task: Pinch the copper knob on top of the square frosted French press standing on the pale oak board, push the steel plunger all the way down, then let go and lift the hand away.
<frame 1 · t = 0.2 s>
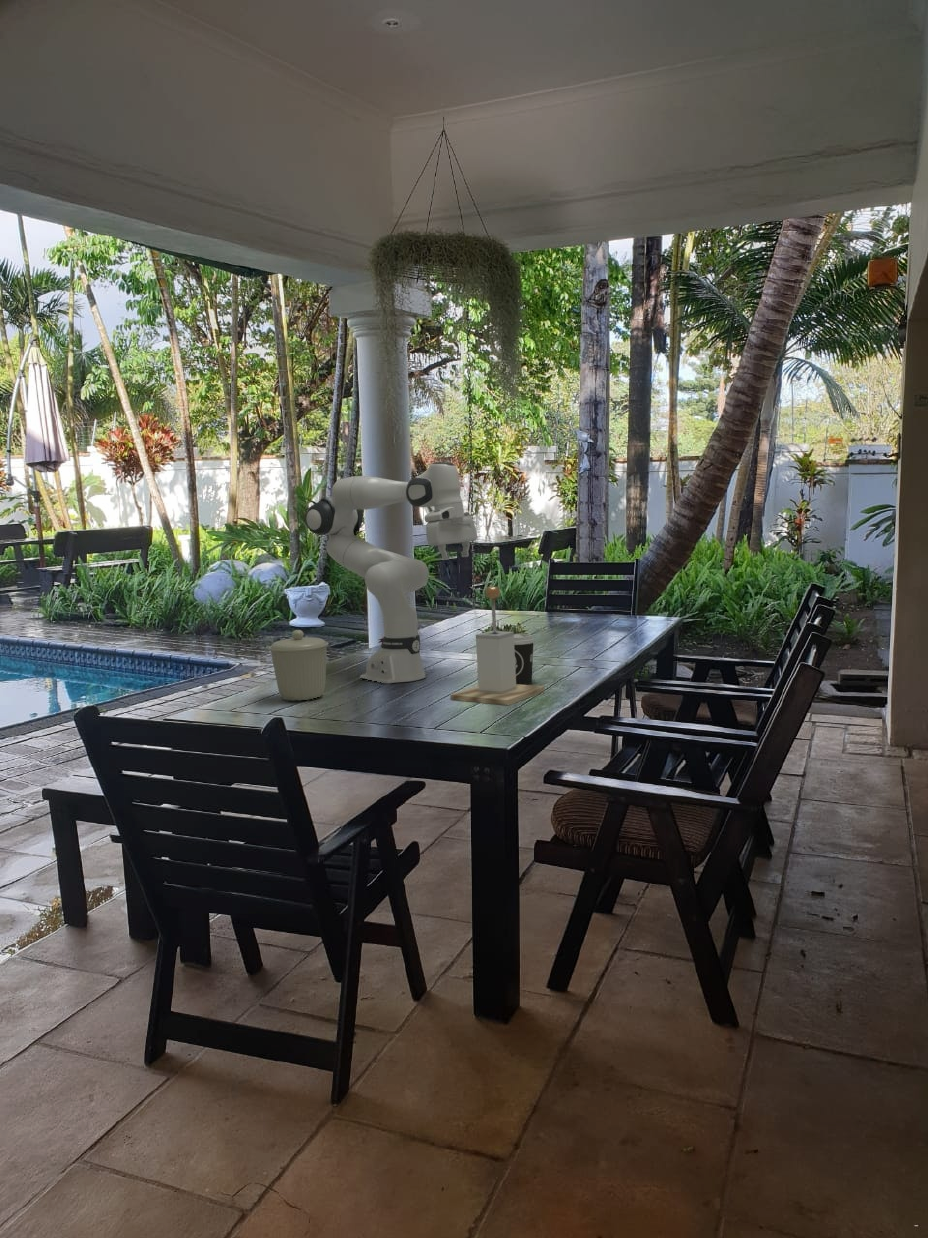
hand: (455, 558, 303), 40 cm above the table, tool pointing down, fingers open, 8 cm apart
plunger: (494, 622, 285), point 22 cm above the table, slide at 0.0 cm
press: (497, 690, 288), resting on board
coffee cup: (521, 683, 304), on the table
canister: (302, 698, 300), on the table
board: (497, 695, 288), on the table
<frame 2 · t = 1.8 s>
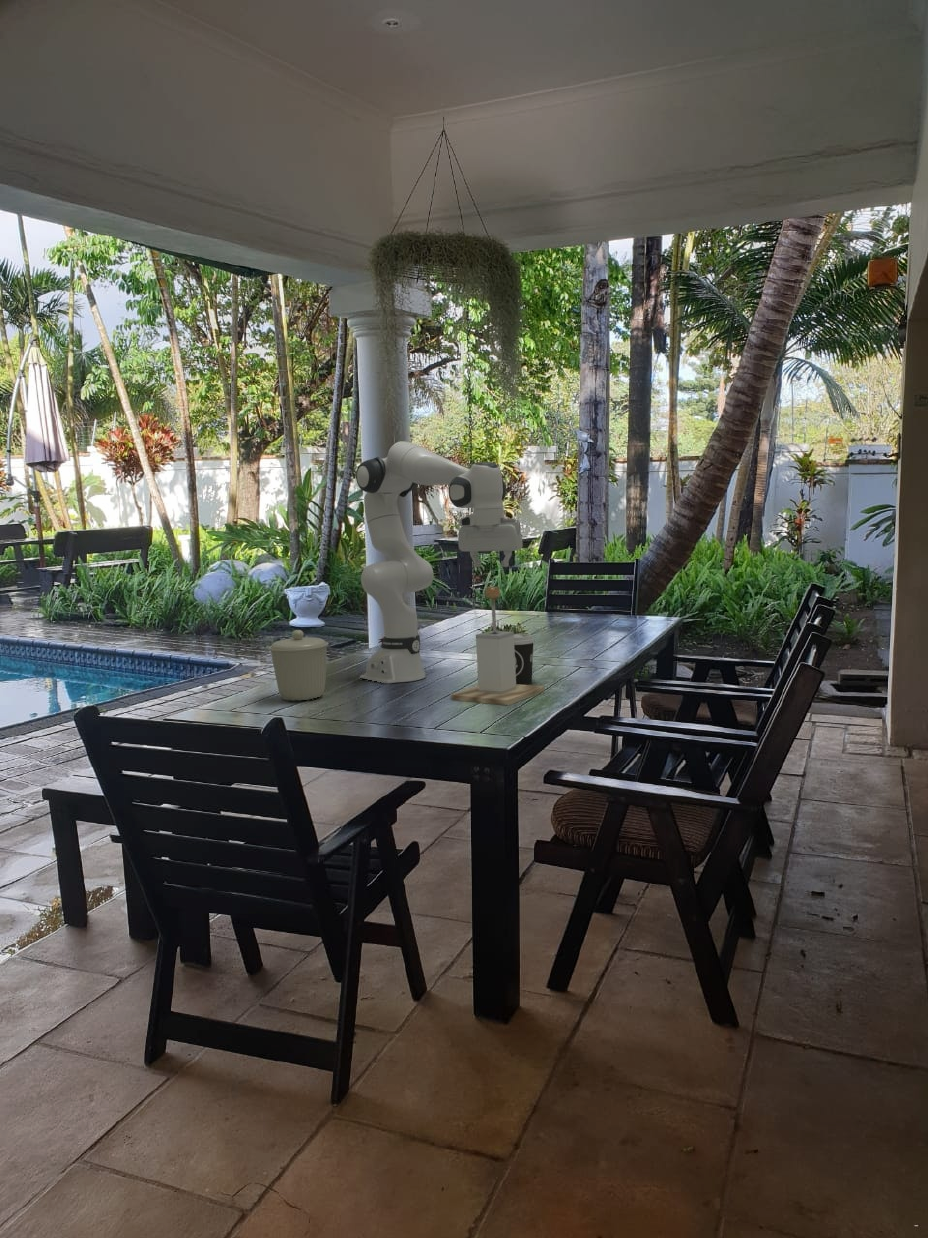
hand: (491, 566, 283), 38 cm above the table, tool pointing down, fingers open, 8 cm apart
nothing on the table moved.
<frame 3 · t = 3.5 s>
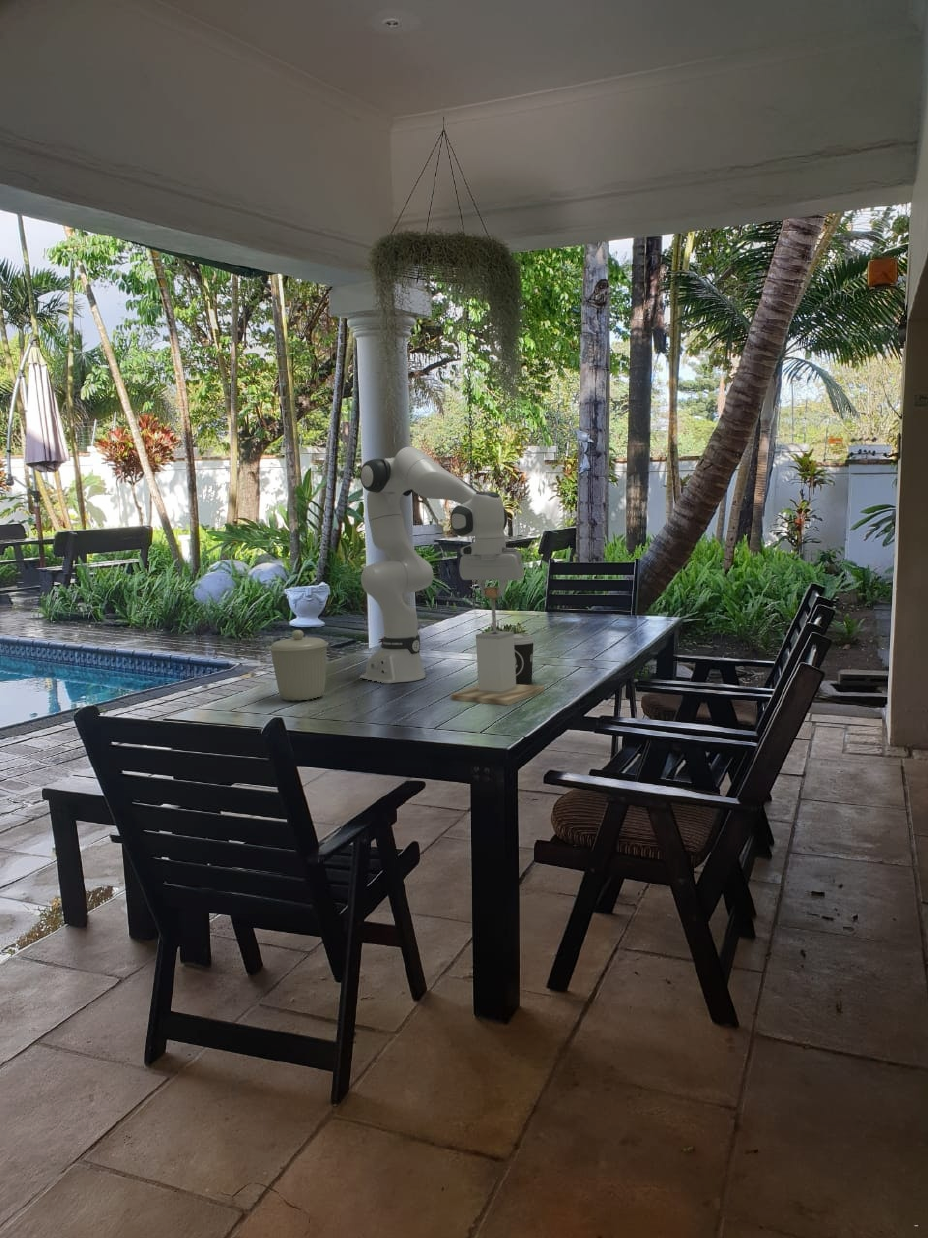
hand: (492, 595, 284), 30 cm above the table, tool pointing down, fingers closed on plunger, 4 cm apart
plunger: (494, 622, 285), point 22 cm above the table, slide at 0.0 cm, touching gripper
everything else where it was.
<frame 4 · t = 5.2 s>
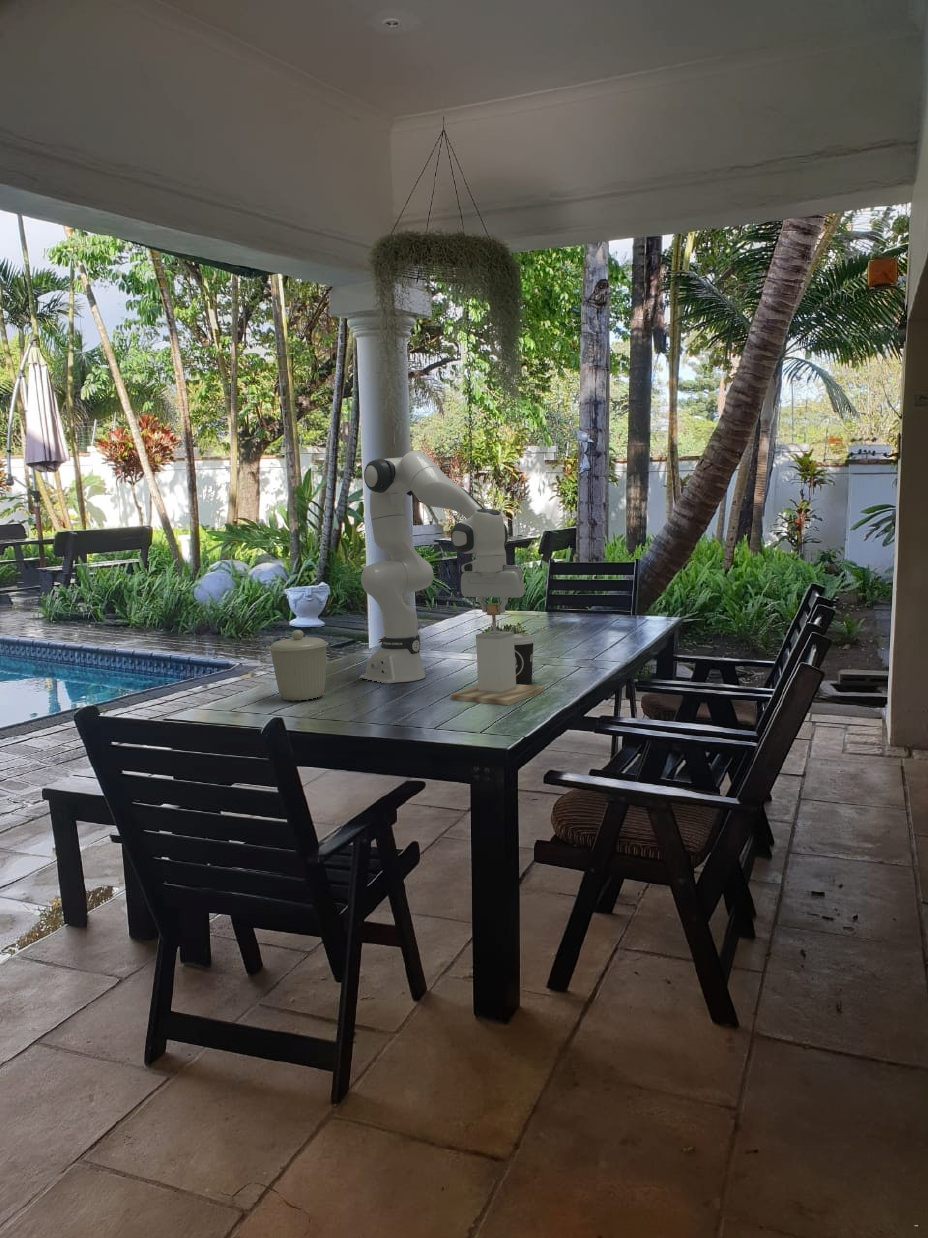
hand: (493, 612, 285), 25 cm above the table, tool pointing down, fingers closed on plunger, 4 cm apart
plunger: (495, 639, 286), point 17 cm above the table, slide at 5.0 cm, touching gripper
everything else where it was.
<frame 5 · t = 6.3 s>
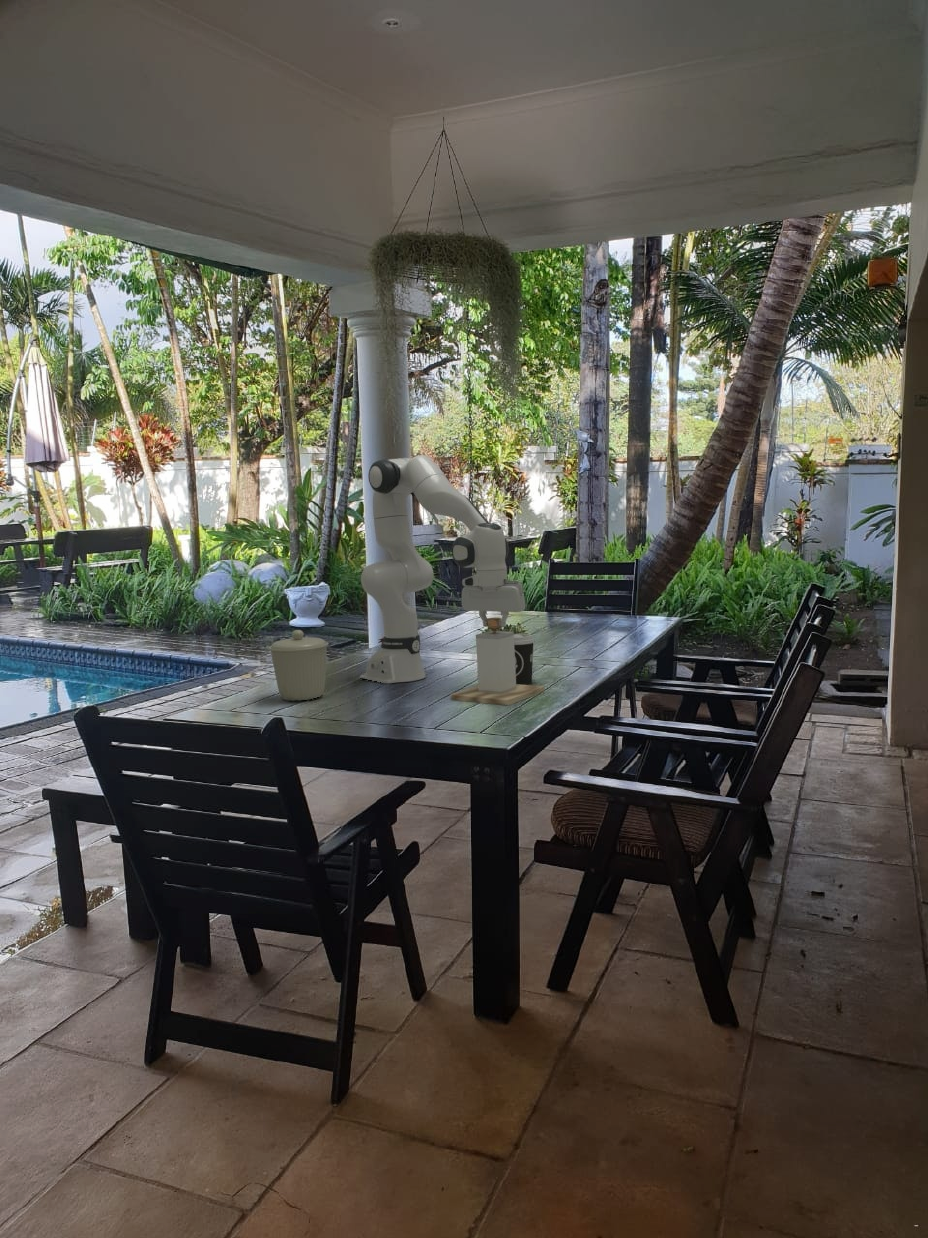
hand: (494, 626, 285), 20 cm above the table, tool pointing down, fingers closed on plunger, 4 cm apart
plunger: (495, 653, 286), point 13 cm above the table, slide at 9.1 cm, touching gripper
everything else where it was.
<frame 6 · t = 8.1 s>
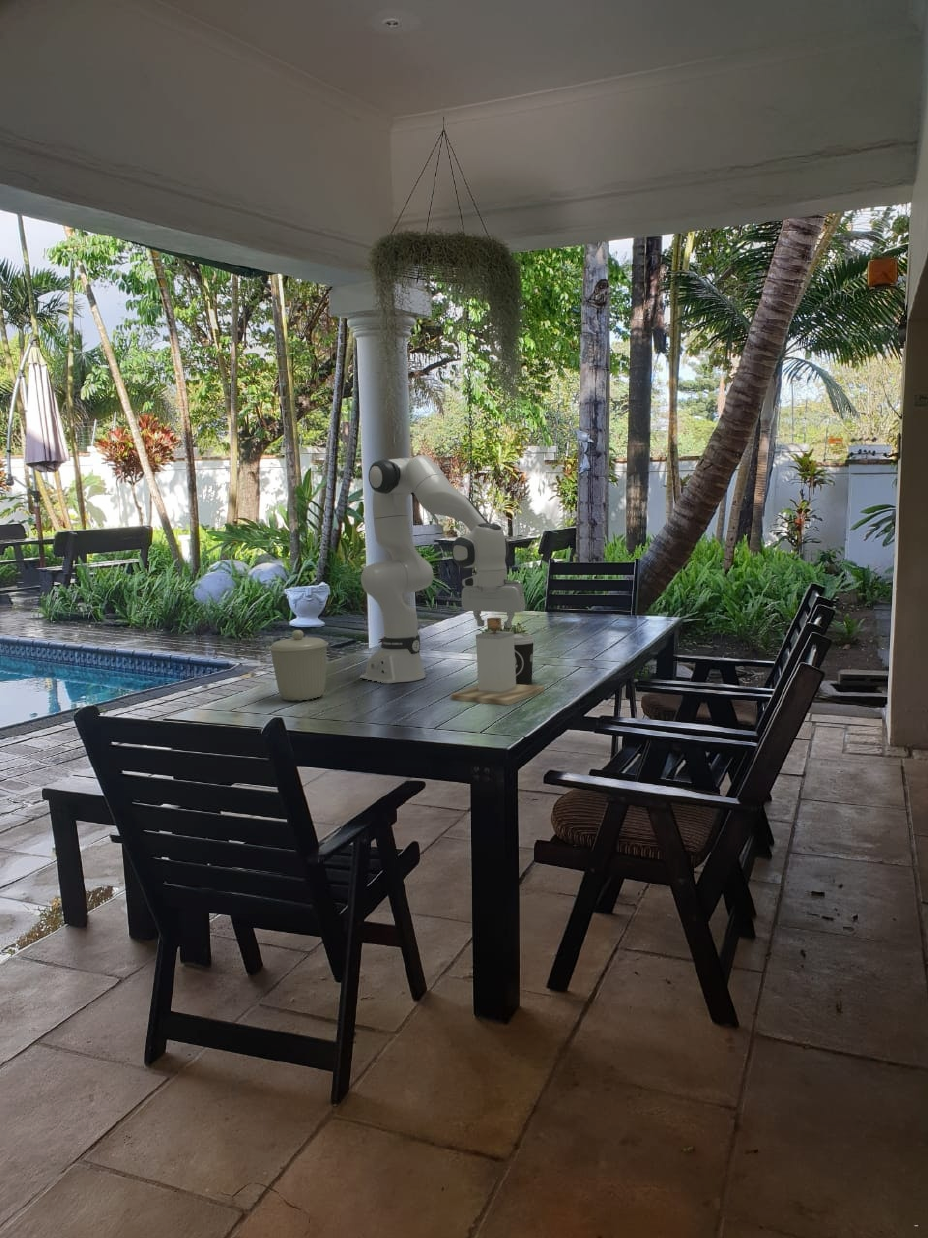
hand: (494, 626, 285), 20 cm above the table, tool pointing down, fingers open, 8 cm apart
plunger: (495, 653, 286), point 13 cm above the table, slide at 9.1 cm
everything else where it was.
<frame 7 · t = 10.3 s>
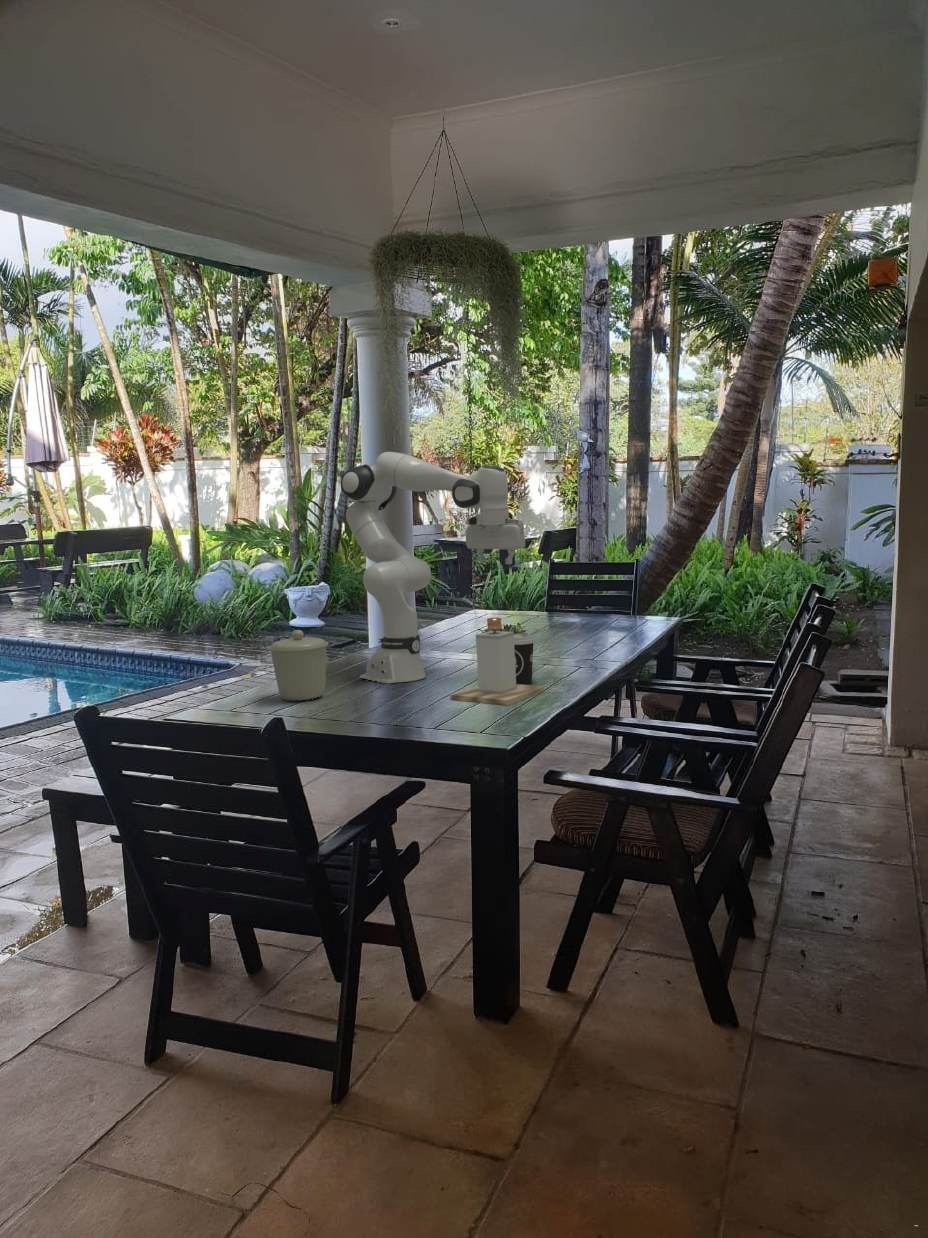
hand: (496, 563, 303), 37 cm above the table, tool pointing down, fingers open, 8 cm apart
nothing on the table moved.
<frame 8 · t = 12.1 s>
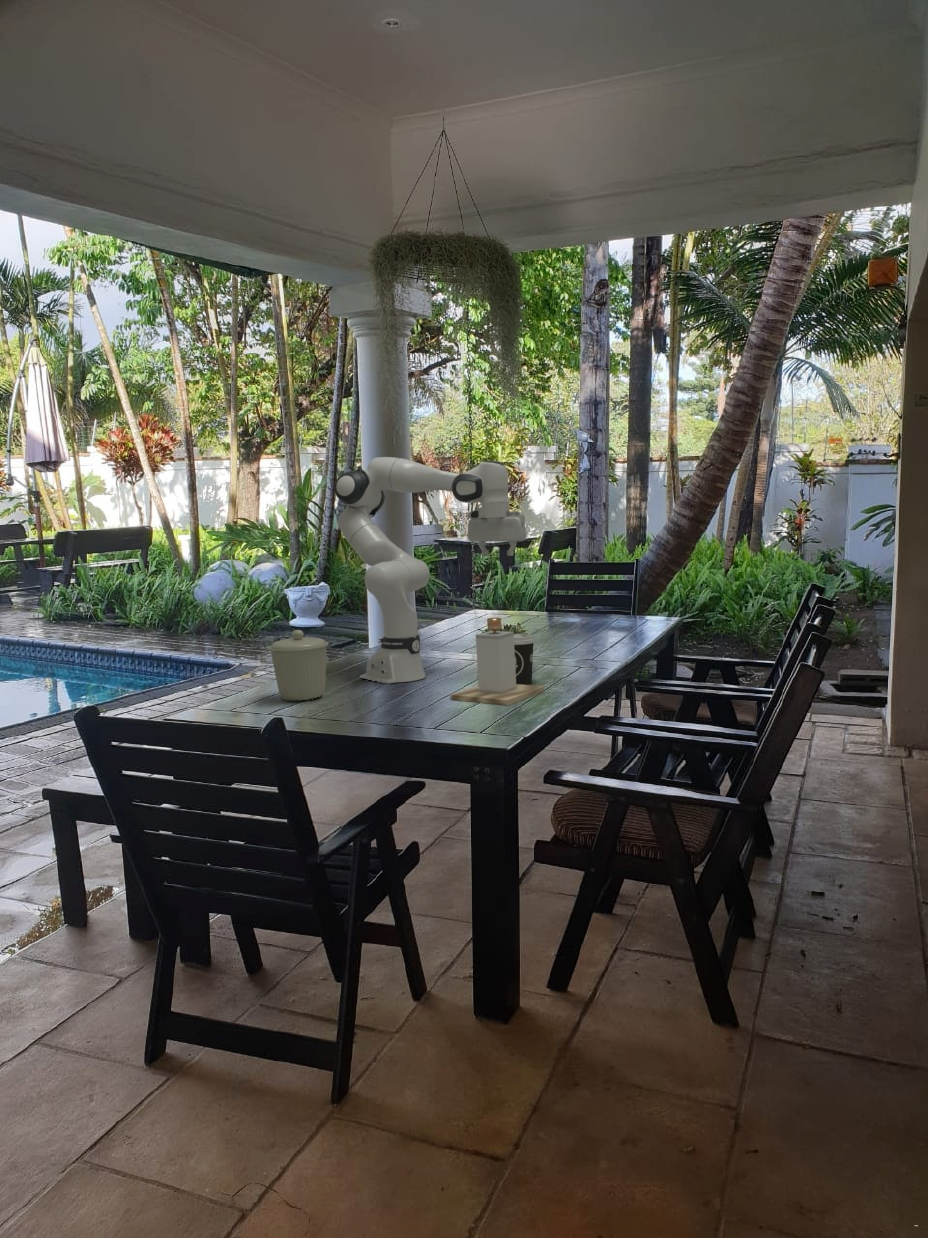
hand: (497, 555, 311), 39 cm above the table, tool pointing down, fingers open, 8 cm apart
nothing on the table moved.
at the end: plunger slide at 9.1 cm; the gripper is holding nothing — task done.
